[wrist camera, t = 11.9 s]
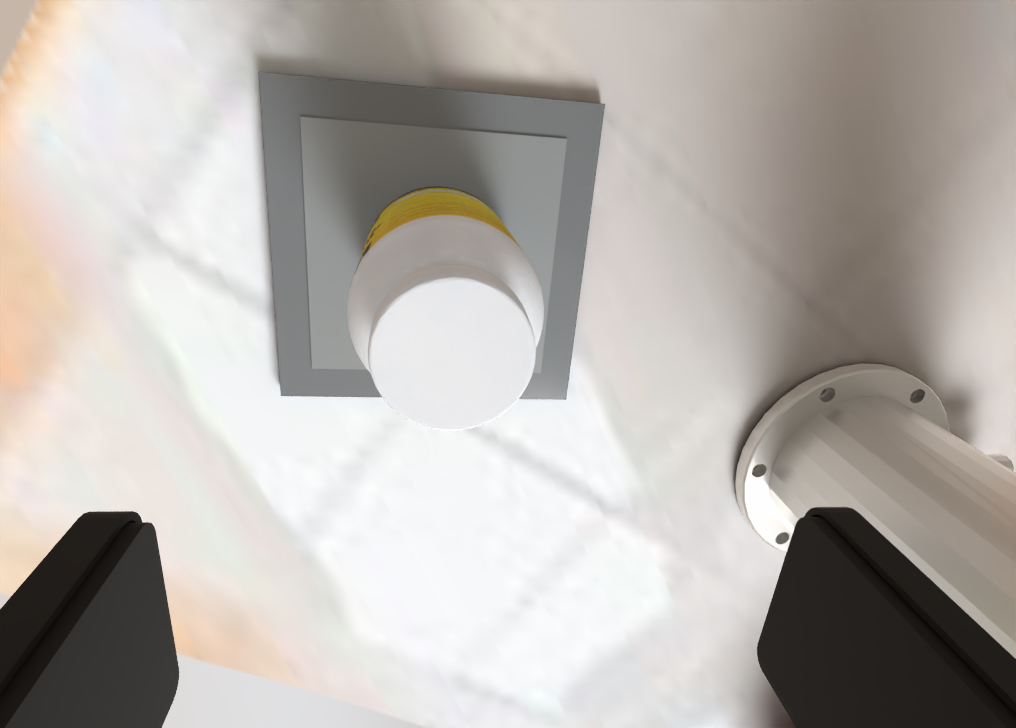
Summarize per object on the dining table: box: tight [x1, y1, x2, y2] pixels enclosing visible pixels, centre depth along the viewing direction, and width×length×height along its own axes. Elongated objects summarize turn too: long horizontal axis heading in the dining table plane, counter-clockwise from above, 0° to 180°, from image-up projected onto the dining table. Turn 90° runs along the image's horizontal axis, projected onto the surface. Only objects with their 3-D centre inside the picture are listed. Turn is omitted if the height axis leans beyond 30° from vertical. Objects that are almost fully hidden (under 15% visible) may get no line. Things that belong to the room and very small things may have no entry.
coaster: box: [259, 72, 605, 400], centre depth 27 cm, size 14×14×1 cm
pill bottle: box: [347, 186, 544, 431], centre depth 22 cm, size 6×6×12 cm
